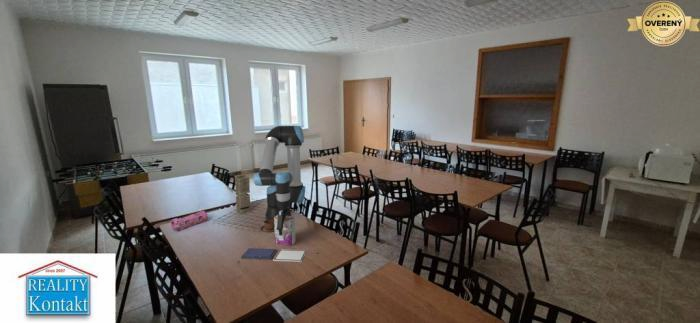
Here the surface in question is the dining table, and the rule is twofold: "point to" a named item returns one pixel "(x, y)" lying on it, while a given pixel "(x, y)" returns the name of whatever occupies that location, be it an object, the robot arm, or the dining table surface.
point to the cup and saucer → (268, 225)
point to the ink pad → (259, 253)
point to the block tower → (242, 193)
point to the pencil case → (189, 221)
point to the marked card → (290, 255)
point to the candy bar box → (286, 231)
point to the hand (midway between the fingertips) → (284, 235)
